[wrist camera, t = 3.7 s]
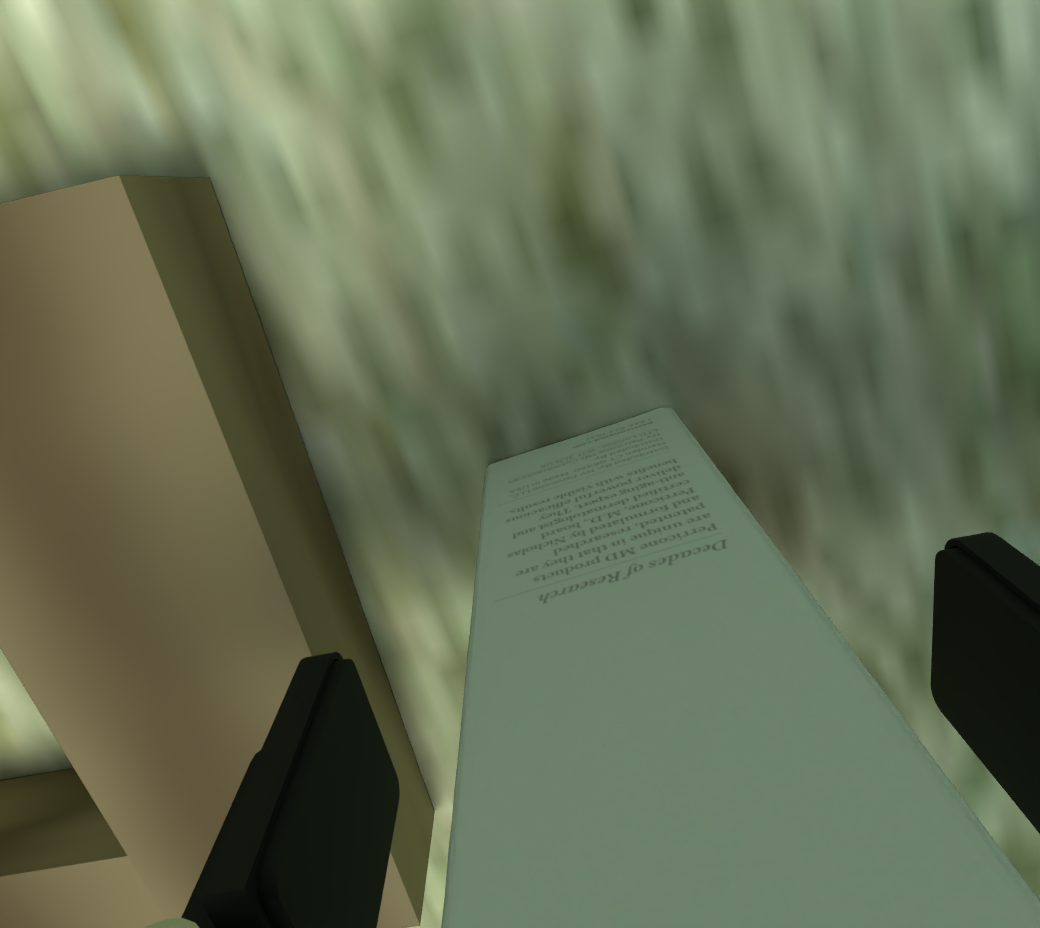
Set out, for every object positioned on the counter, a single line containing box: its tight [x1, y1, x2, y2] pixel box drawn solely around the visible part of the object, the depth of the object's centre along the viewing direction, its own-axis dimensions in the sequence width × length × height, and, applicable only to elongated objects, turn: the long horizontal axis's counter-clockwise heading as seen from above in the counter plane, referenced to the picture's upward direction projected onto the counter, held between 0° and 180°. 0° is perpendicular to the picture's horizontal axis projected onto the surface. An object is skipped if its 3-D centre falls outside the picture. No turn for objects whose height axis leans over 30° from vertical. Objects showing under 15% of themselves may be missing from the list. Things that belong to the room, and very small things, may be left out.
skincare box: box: [441, 408, 1040, 928], centre depth 10 cm, size 6×4×12 cm
